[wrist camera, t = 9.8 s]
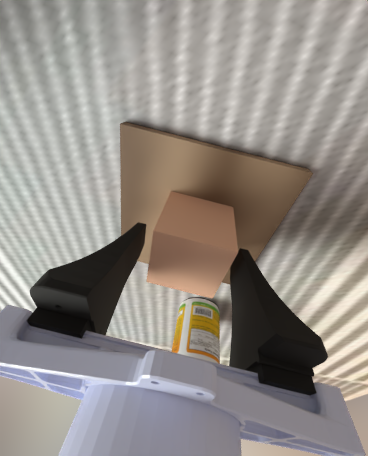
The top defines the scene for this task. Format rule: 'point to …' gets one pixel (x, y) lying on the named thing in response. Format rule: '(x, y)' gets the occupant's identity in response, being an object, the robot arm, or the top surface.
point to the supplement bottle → (198, 330)
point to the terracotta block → (192, 245)
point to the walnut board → (204, 184)
